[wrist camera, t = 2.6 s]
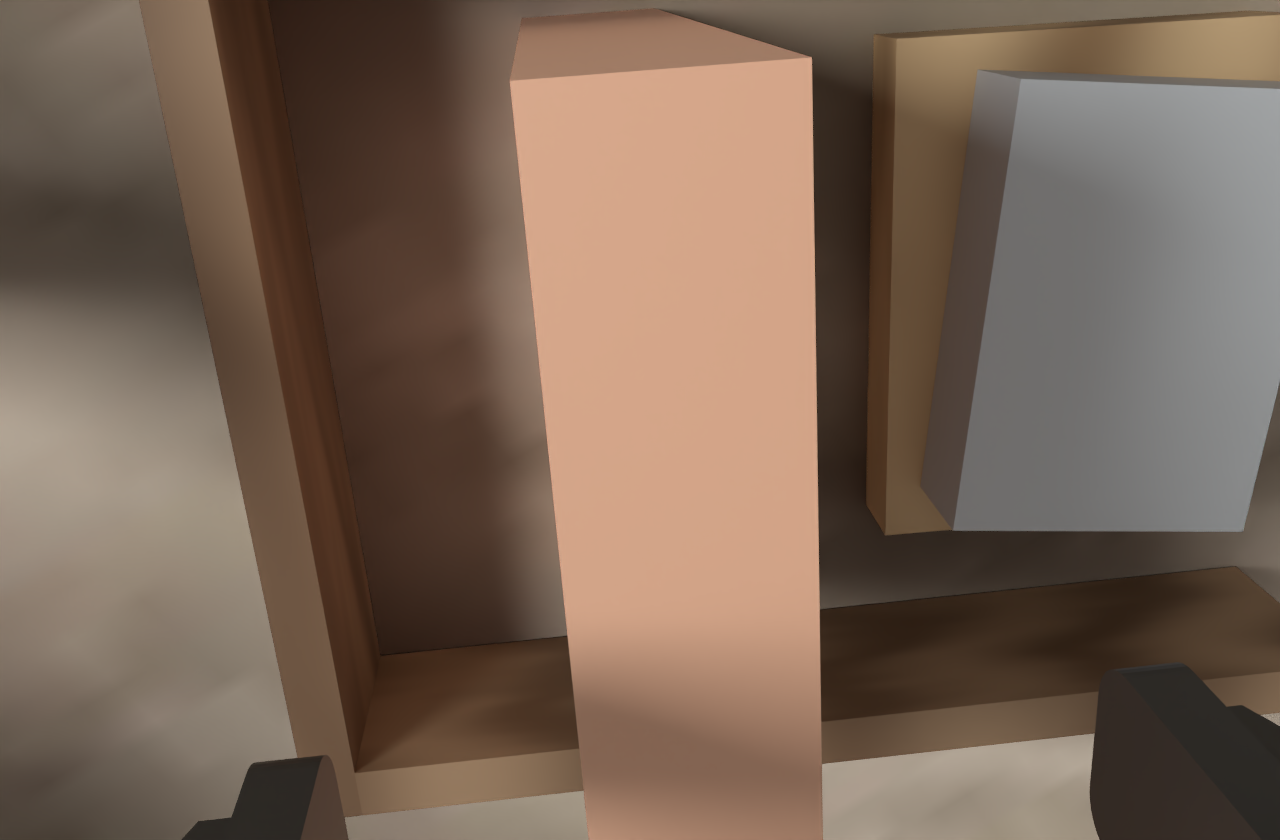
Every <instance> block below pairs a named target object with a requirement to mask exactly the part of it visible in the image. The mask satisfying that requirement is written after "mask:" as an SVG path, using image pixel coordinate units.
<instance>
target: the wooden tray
mask: <svg viewBox="0 0 1280 840" xmlns="http://www.w3.org/2000/svg"><path fill="white" fill-rule="evenodd" d="M139 3H140V8H141V13H142V17H143V22H144V27H145V32H146V36H147V41H148V46H149V51H150V56H151V60H152V65H153V70H154V75H155V79H156V84H157V89H158V94H159V98H160V103H161V108H162V113H163V118H164V122H165V127H166V132H167V137H168V141H169V146H170V151H171V156H172V160H173V165H174V170H175V175H176V180H177V184H178V189H179V194H180V199H181V203H182V208H183V213H184V218H185V222H186V227H187V232H188V237H189V242H190V246H191V251H192V256H193V261H194V265H195V270H196V275H197V280H198V284H199V289H200V294H201V299H202V304H203V308H204V313H205V318H206V323H207V327H208V332H209V337H210V342H211V347H212V351H213V356H214V361H215V366H216V370H217V375H218V380H219V385H220V389H221V394H222V399H223V404H224V409H225V413H226V418H227V423H228V428H229V432H230V437H231V442H232V447H233V451H234V456H235V461H236V466H237V471H238V475H239V480H240V485H241V490H242V494H243V499H244V504H245V509H246V513H247V518H248V523H249V528H250V533H251V537H252V542H253V547H254V552H255V556H256V561H257V566H258V571H259V575H260V580H261V585H262V590H263V595H264V599H265V604H266V609H267V614H268V618H269V623H270V628H271V633H272V637H273V642H274V647H275V652H276V657H277V661H278V666H279V671H280V676H281V680H282V685H283V690H284V695H285V700H286V704H287V709H288V714H289V719H290V723H291V728H292V733H293V738H294V742H295V747H296V752H297V757H298V758H302V757H311V756H320V755H328V756H329V757H330V758H331V760H332V763H333V766H334V769H335V774H336V778H337V783H338V789H339V794H340V799H341V804H342V809H343V814H344V817H351V816H360V815H369V814H378V813H387V812H396V811H405V810H414V809H423V808H431V807H440V806H449V805H458V804H467V803H476V802H485V801H494V800H503V799H512V798H521V797H530V796H539V795H548V794H557V793H565V792H574V791H583V790H584V789H583V779H582V770H581V760H580V751H579V741H578V731H577V722H576V712H575V703H574V693H573V683H572V674H571V664H570V655H569V645H568V636H566V637H556V638H547V639H537V640H528V641H518V642H509V643H499V644H490V645H480V646H470V647H461V648H451V649H442V650H432V651H423V652H413V653H403V654H394V655H384V656H380V650H379V644H378V639H377V633H376V627H375V621H374V615H373V610H372V604H371V598H370V592H369V586H368V581H367V575H366V569H365V563H364V557H363V552H362V546H361V540H360V534H359V528H358V522H357V517H356V511H355V505H354V499H353V493H352V488H351V482H350V476H349V470H348V464H347V459H346V453H345V447H344V441H343V435H342V430H341V424H340V418H339V412H338V406H337V401H336V395H335V389H334V383H333V377H332V371H331V366H330V360H329V354H328V348H327V342H326V337H325V331H324V325H323V319H322V313H321V308H320V302H319V296H318V290H317V284H316V279H315V273H314V267H313V261H312V255H311V250H310V244H309V238H308V232H307V226H306V220H305V215H304V209H303V203H302V197H301V191H300V186H299V180H298V174H297V168H296V162H295V157H294V151H293V145H292V139H291V133H290V128H289V122H288V116H287V110H286V104H285V99H284V93H283V87H282V81H281V75H280V69H279V64H278V58H277V52H276V46H275V40H274V35H273V29H272V23H271V17H270V11H269V6H268V0H139ZM1176 662H1179V663H1183V664H1185V665H1186V666H1188V667H1189V668H1190V669H1191V670H1192V671H1193V672H1194V673H1195V674H1196V675H1197V676H1198V677H1199V678H1200V679H1201V680H1202V681H1203V682H1204V683H1205V684H1206V685H1207V687H1208V688H1209V689H1210V690H1211V691H1212V692H1213V693H1214V694H1215V695H1216V696H1217V697H1218V698H1219V699H1220V700H1221V701H1222V702H1223V703H1224V704H1225V706H1226V707H1228V706H1237V705H1243V706H1245V707H1247V708H1248V709H1250V710H1252V711H1254V712H1255V713H1257V714H1259V715H1262V714H1271V713H1280V603H1279V602H1278V601H1276V600H1275V599H1274V598H1273V597H1272V596H1270V595H1269V594H1268V593H1267V592H1266V591H1265V590H1263V589H1262V588H1261V587H1260V586H1259V585H1257V584H1256V583H1255V582H1254V581H1253V580H1252V579H1250V578H1249V577H1248V576H1247V575H1246V574H1244V573H1243V572H1242V571H1241V570H1240V569H1239V568H1237V567H1226V568H1217V569H1207V570H1198V571H1188V572H1178V573H1169V574H1159V575H1150V576H1140V577H1131V578H1121V579H1112V580H1102V581H1092V582H1083V583H1073V584H1064V585H1054V586H1045V587H1035V588H1025V589H1016V590H1006V591H997V592H987V593H978V594H968V595H958V596H949V597H939V598H930V599H920V600H911V601H901V602H891V603H882V604H872V605H863V606H853V607H844V608H834V609H824V610H820V675H821V747H822V764H825V763H834V762H842V761H851V760H860V759H869V758H878V757H887V756H896V755H905V754H914V753H923V752H932V751H941V750H950V749H959V748H968V747H976V746H985V745H994V744H1003V743H1012V742H1021V741H1030V740H1039V739H1048V738H1057V737H1066V736H1075V735H1084V734H1093V733H1095V726H1096V715H1097V704H1098V693H1099V686H1100V682H1101V679H1102V677H1103V675H1104V674H1105V672H1106V671H1108V670H1113V669H1122V668H1131V667H1140V666H1149V665H1158V664H1166V663H1176Z"/></svg>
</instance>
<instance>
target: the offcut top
mask: <svg viewBox="0 0 1280 840" xmlns="http://www.w3.org/2000/svg"><path fill="white" fill-rule="evenodd" d="M1279 383H1280V81H1260V80H1234V79H1209V78H1183V77H1157V76H1132V75H1106V74H1080V73H1054V72H1029V71H1003V70H977V78H976V85H975V92H974V99H973V107H972V114H971V121H970V128H969V136H968V143H967V150H966V158H965V165H964V172H963V179H962V187H961V194H960V201H959V208H958V216H957V223H956V230H955V238H954V245H953V252H952V259H951V267H950V274H949V281H948V288H947V296H946V303H945V310H944V318H943V325H942V332H941V339H940V347H939V354H938V361H937V369H936V376H935V383H934V390H933V398H932V405H931V412H930V419H929V427H928V434H927V441H926V449H925V456H924V463H923V470H922V478H921V485H920V487H921V488H922V489H923V491H924V492H925V494H926V495H927V496H928V498H929V499H930V500H931V502H932V503H933V504H934V506H935V507H936V508H937V510H938V511H939V512H940V514H941V515H942V517H943V518H944V519H945V521H946V522H947V523H948V525H949V526H950V527H951V529H952V530H953V531H1175V532H1243V529H1244V525H1245V521H1246V517H1247V513H1248V509H1249V505H1250V501H1251V497H1252V493H1253V489H1254V485H1255V481H1256V477H1257V473H1258V468H1259V464H1260V460H1261V456H1262V452H1263V448H1264V444H1265V440H1266V436H1267V432H1268V428H1269V424H1270V420H1271V416H1272V412H1273V408H1274V404H1275V400H1276V396H1277V391H1278V387H1279Z"/></svg>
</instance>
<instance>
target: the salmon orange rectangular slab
mask: <svg viewBox="0 0 1280 840" xmlns="http://www.w3.org/2000/svg"><path fill="white" fill-rule="evenodd" d="M510 88H511V98H512V107H513V117H514V127H515V136H516V146H517V155H518V165H519V175H520V184H521V194H522V203H523V213H524V223H525V232H526V242H527V251H528V261H529V271H530V280H531V290H532V299H533V309H534V319H535V328H536V338H537V347H538V357H539V367H540V376H541V386H542V395H543V405H544V415H545V424H546V434H547V443H548V453H549V463H550V472H551V482H552V491H553V501H554V511H555V520H556V530H557V539H558V549H559V559H560V568H561V578H562V587H563V597H564V607H565V616H566V626H567V635H568V645H569V655H570V664H571V674H572V683H573V693H574V703H575V712H576V722H577V731H578V741H579V751H580V760H581V770H582V779H583V789H584V799H585V808H586V818H587V827H588V837H589V840H823V819H822V747H821V675H820V603H819V531H818V459H817V388H816V316H815V244H814V172H813V100H812V57H809V56H806V55H803V54H799V53H796V52H793V51H790V50H787V49H783V48H780V47H777V46H774V45H771V44H767V43H764V42H761V41H758V40H755V39H751V38H748V37H745V36H742V35H739V34H735V33H732V32H729V31H726V30H723V29H719V28H716V27H713V26H710V25H706V24H703V23H700V22H697V21H694V20H690V19H687V18H684V17H681V16H678V15H674V14H671V13H668V12H665V11H662V10H658V9H655V8H653V9H640V10H626V11H613V12H600V13H586V14H573V15H560V16H546V17H533V18H522V21H521V26H520V31H519V36H518V42H517V47H516V52H515V57H514V62H513V67H512V72H511V77H510Z"/></svg>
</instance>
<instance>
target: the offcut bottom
mask: <svg viewBox="0 0 1280 840" xmlns="http://www.w3.org/2000/svg"><path fill="white" fill-rule="evenodd" d="M977 70H1003V71H1029V72H1054V73H1080V74H1106V75H1132V76H1157V77H1183V78H1209V79H1234V80H1260V81H1280V13H1279V12H1261V11H1238V12H1222V13H1206V14H1190V15H1174V16H1159V17H1143V18H1127V19H1111V20H1096V21H1080V22H1064V23H1048V24H1032V25H1017V26H1001V27H985V28H969V29H953V30H938V31H922V32H906V33H890V34H874V49H873V111H872V172H871V234H870V295H869V357H868V418H867V480H866V505H867V506H868V508H869V510H870V511H871V513H872V515H873V516H874V518H875V519H876V521H877V523H878V524H879V526H880V528H881V529H882V531H883V532H884V534H885V535H896V534H908V533H919V532H931V531H942V530H952V529H951V527H950V526H949V525H948V523H947V522H946V521H945V519H944V518H943V517H942V515H941V514H940V512H939V511H938V510H937V508H936V507H935V506H934V504H933V503H932V502H931V500H930V499H929V498H928V496H927V495H926V494H925V492H924V491H923V489H922V488H921V487H920V485H921V478H922V470H923V463H924V456H925V449H926V441H927V434H928V427H929V419H930V412H931V405H932V398H933V390H934V383H935V376H936V369H937V361H938V354H939V347H940V339H941V332H942V325H943V318H944V310H945V303H946V296H947V288H948V281H949V274H950V267H951V259H952V252H953V245H954V238H955V230H956V223H957V216H958V208H959V201H960V194H961V187H962V179H963V172H964V165H965V158H966V150H967V143H968V136H969V128H970V121H971V114H972V107H973V99H974V92H975V85H976V78H977Z"/></svg>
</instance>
